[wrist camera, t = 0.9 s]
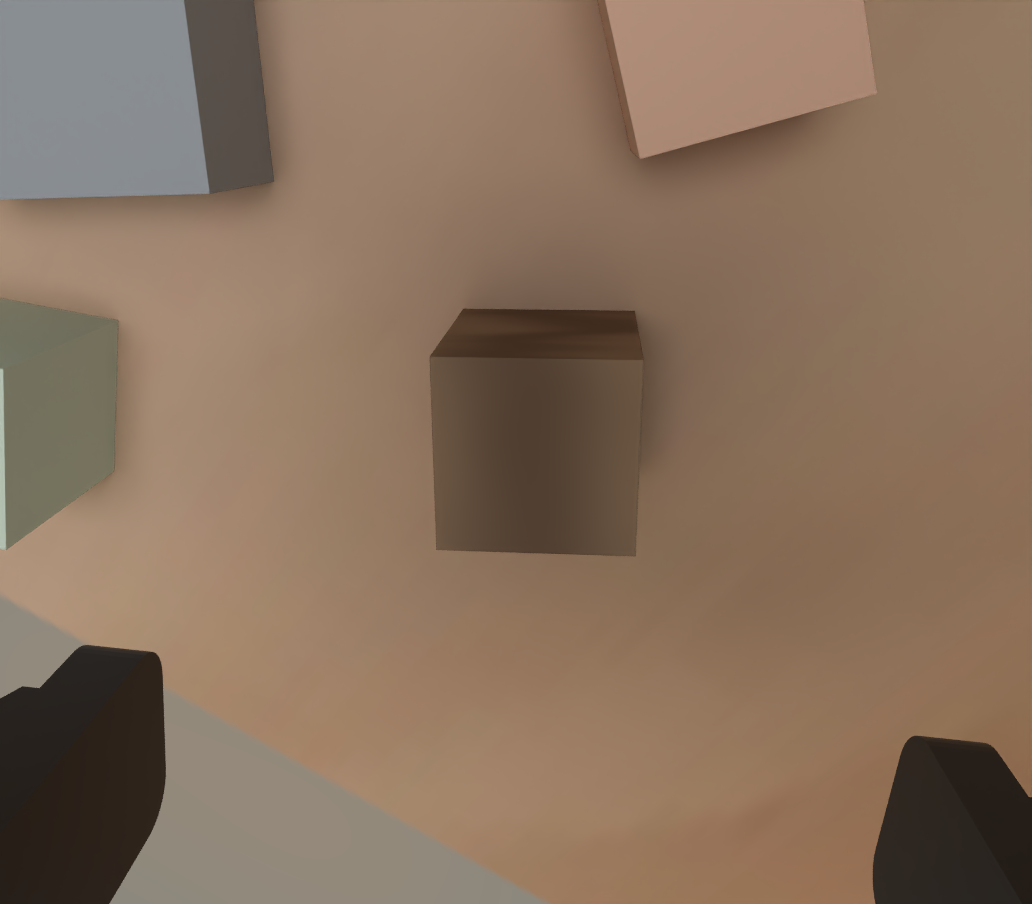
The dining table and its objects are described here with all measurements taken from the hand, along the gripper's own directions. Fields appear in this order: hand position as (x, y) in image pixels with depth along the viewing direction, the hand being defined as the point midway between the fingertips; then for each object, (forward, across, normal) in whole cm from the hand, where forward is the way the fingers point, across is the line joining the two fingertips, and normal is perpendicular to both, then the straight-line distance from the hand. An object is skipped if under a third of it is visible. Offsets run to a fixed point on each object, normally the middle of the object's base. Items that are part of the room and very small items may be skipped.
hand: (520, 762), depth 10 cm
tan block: (+19, -3, -9) cm, 21 cm away
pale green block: (+20, +16, +2) cm, 25 cm away
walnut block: (+19, 0, +1) cm, 19 cm away
